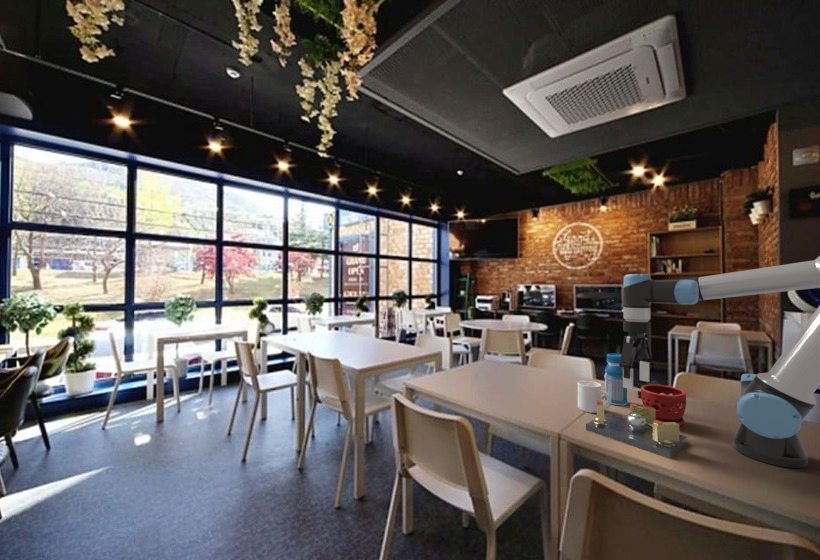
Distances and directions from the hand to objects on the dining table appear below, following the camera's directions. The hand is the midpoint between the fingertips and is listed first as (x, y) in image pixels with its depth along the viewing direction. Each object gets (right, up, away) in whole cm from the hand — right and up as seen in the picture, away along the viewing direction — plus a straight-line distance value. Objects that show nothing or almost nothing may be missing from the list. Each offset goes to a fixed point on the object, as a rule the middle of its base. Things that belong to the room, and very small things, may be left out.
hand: (636, 384), depth 114 cm
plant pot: (+16, -17, +10) cm, 26 cm away
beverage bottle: (+11, -17, +30) cm, 37 cm away
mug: (-3, -17, +21) cm, 27 cm away
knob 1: (-9, -14, +5) cm, 18 cm away
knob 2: (+2, -14, -10) cm, 18 cm away
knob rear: (+4, -14, +3) cm, 15 cm away
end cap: (+30, -17, +37) cm, 51 cm away
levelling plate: (-1, -17, -1) cm, 17 cm away
